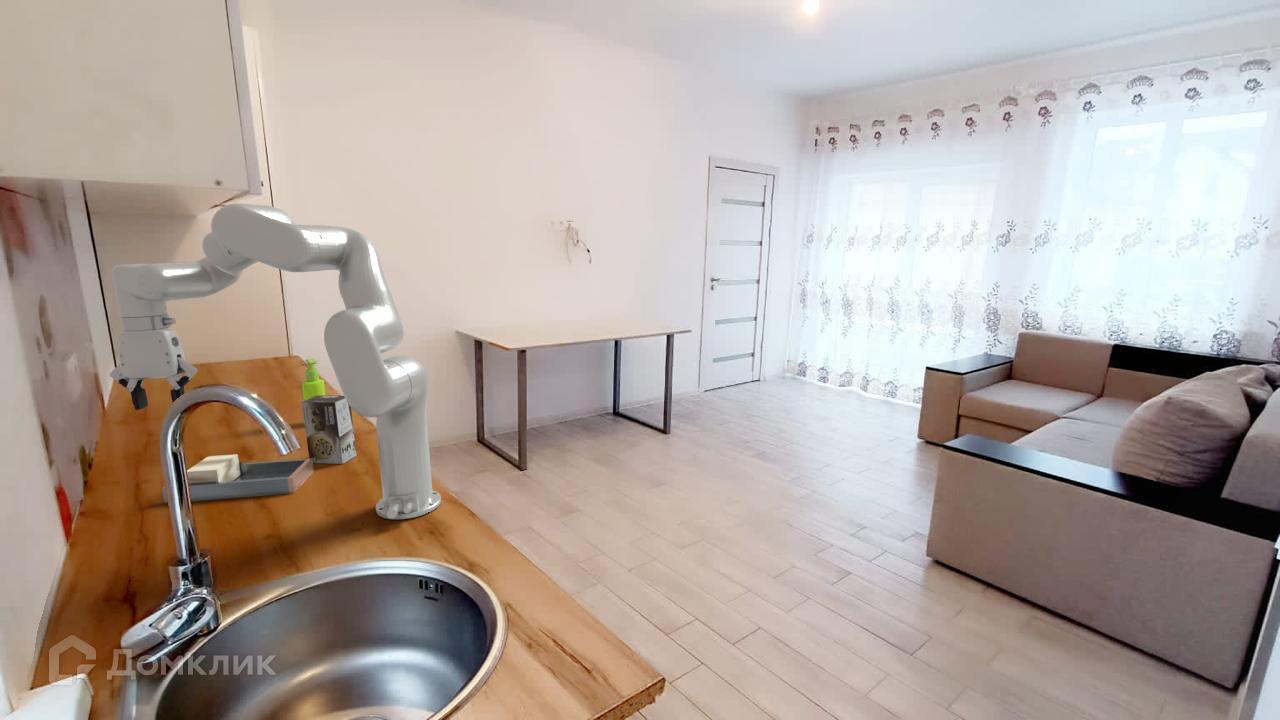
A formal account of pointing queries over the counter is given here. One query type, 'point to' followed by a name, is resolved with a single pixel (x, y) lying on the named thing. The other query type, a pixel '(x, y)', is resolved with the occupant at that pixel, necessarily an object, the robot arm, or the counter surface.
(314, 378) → the soap dispenser
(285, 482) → the grey shallow rectangular tray
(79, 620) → the counter surface
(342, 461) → the coffee box
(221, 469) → the block
